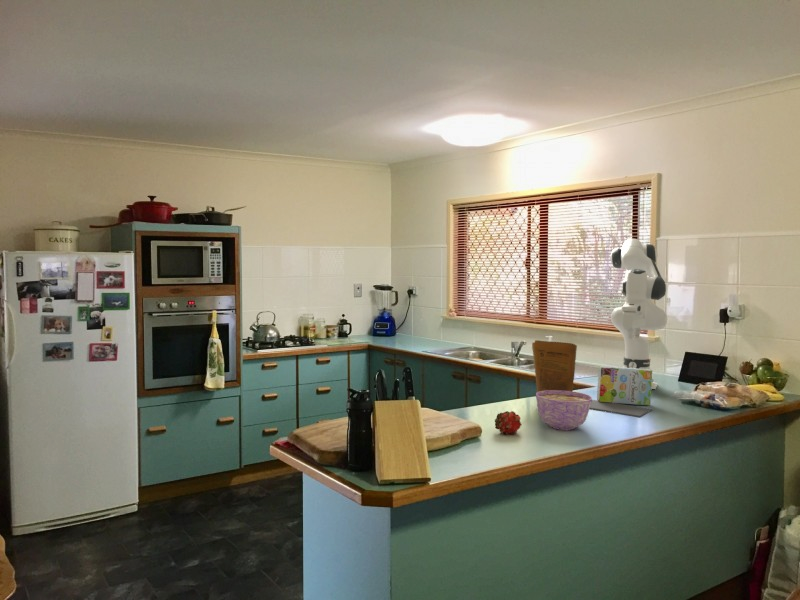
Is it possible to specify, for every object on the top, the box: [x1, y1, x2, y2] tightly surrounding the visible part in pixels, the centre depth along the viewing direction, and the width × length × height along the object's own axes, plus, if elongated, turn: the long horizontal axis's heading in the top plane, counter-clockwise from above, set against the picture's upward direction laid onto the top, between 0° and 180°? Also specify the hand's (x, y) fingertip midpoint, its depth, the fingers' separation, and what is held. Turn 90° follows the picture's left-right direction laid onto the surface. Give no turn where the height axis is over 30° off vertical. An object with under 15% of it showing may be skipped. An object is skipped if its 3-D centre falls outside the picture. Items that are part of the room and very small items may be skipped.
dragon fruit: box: [494, 411, 523, 435], centre depth 231 cm, size 8×8×12 cm
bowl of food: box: [535, 390, 593, 431], centre depth 241 cm, size 20×20×12 cm
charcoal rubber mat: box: [589, 399, 653, 418], centre depth 274 cm, size 16×26×1 cm, turn 54°
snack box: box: [596, 365, 653, 406], centre depth 284 cm, size 21×6×15 cm, turn 84°
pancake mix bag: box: [531, 340, 578, 407], centre depth 268 cm, size 7×19×28 cm, turn 45°
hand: (633, 338), depth 291 cm, fingers open, 7 cm apart
